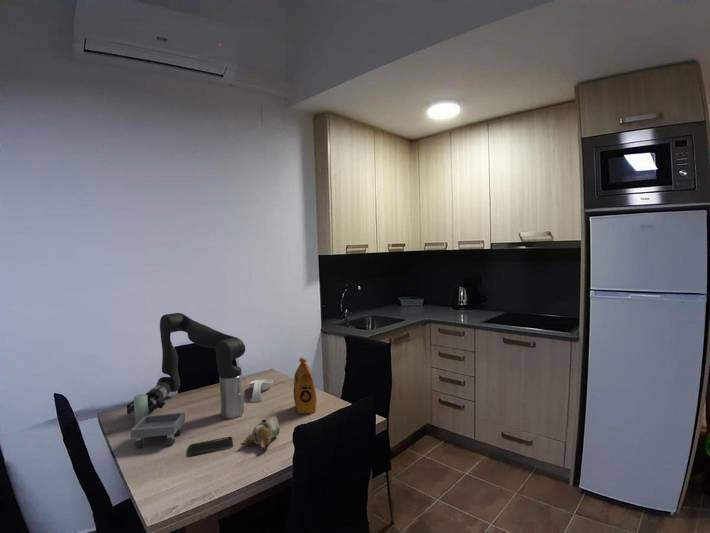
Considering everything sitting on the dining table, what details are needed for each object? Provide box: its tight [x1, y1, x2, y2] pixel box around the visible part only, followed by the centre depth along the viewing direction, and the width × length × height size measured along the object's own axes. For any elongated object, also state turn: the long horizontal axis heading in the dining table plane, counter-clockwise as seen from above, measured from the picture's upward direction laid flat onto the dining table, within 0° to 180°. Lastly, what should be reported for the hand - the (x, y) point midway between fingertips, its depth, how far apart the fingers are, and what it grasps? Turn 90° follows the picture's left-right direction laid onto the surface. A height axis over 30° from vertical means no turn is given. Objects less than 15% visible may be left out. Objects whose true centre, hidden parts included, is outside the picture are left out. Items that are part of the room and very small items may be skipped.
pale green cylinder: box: [133, 393, 150, 426], centre depth 155 cm, size 5×5×12 cm
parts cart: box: [129, 412, 186, 449], centre depth 141 cm, size 15×12×8 cm
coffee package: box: [293, 357, 318, 415], centre depth 166 cm, size 10×12×22 cm
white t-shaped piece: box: [249, 378, 274, 403], centre depth 188 cm, size 24×12×7 cm, turn 8°
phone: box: [187, 436, 234, 457], centre depth 135 cm, size 8×1×15 cm
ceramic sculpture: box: [239, 415, 281, 450], centre depth 137 cm, size 11×9×15 cm
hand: (139, 411), depth 154 cm, fingers open, 8 cm apart
